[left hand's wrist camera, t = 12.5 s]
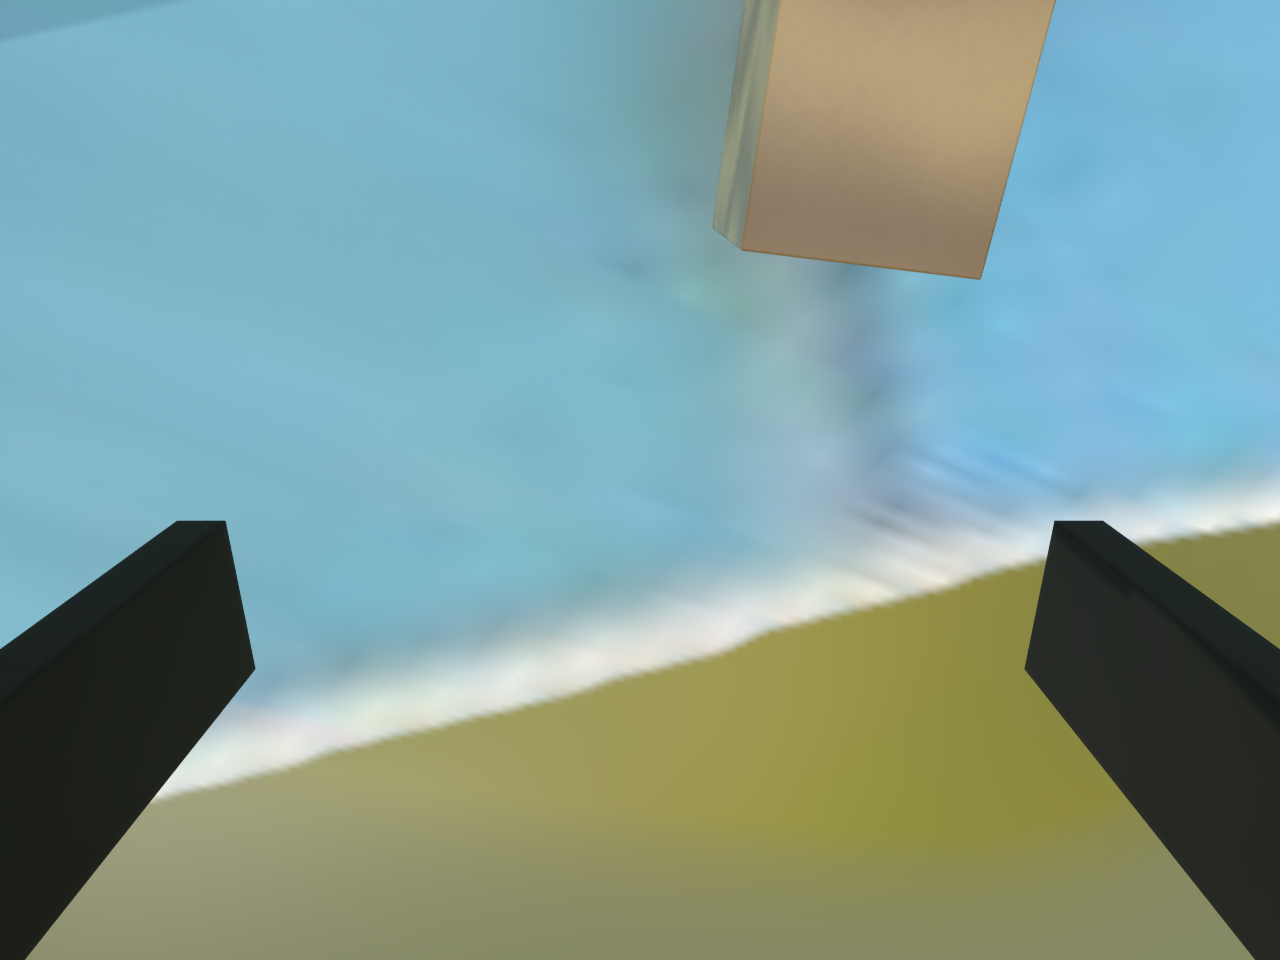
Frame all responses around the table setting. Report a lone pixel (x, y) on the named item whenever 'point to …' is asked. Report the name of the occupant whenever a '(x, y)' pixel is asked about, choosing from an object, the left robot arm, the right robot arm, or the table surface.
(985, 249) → the bar
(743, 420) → the table surface
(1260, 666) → the left robot arm
